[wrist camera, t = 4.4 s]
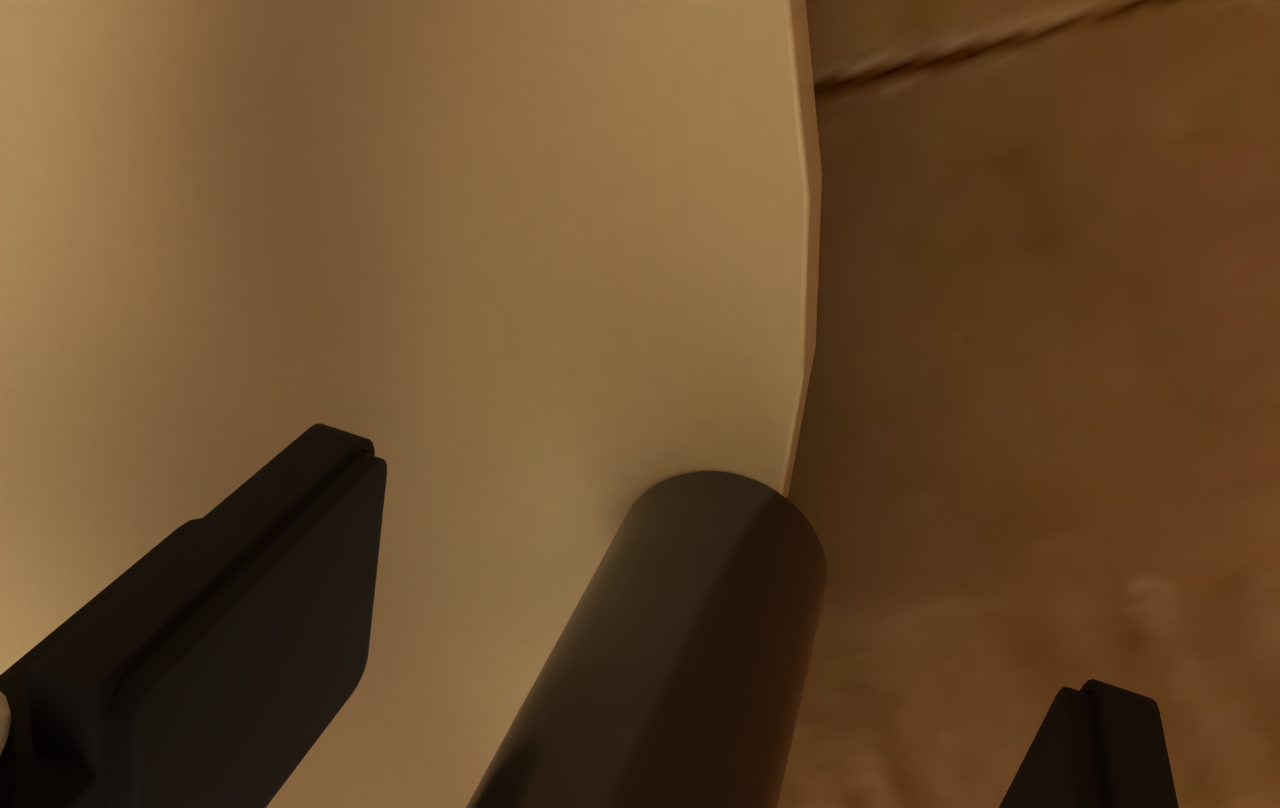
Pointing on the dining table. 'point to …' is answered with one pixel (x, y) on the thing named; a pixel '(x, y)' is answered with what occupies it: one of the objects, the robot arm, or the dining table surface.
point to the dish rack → (438, 359)
